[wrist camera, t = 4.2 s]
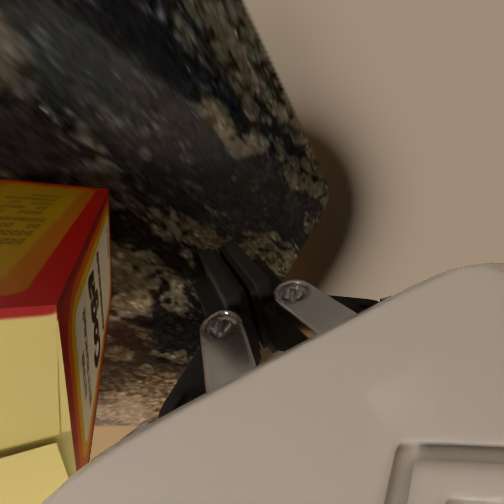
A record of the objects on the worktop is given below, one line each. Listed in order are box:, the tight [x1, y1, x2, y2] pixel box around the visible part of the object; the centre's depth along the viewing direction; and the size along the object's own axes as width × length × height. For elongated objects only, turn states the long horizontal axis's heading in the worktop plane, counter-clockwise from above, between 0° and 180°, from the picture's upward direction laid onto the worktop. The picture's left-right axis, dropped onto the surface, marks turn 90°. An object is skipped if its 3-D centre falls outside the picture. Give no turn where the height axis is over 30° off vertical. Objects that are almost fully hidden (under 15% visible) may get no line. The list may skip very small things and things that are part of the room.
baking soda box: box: [0, 178, 112, 504], centre depth 13 cm, size 10×6×16 cm
